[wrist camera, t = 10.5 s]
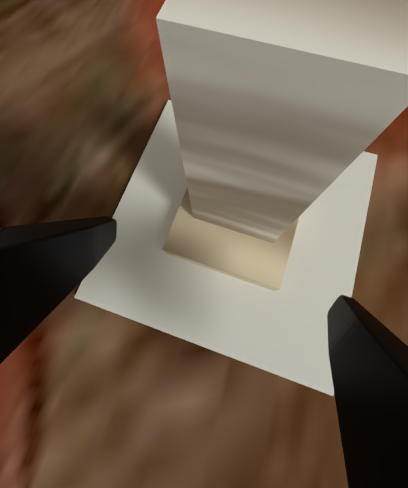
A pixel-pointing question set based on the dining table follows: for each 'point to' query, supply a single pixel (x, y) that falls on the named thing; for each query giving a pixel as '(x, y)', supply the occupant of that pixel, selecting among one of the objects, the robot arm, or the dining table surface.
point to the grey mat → (227, 287)
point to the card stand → (273, 116)
